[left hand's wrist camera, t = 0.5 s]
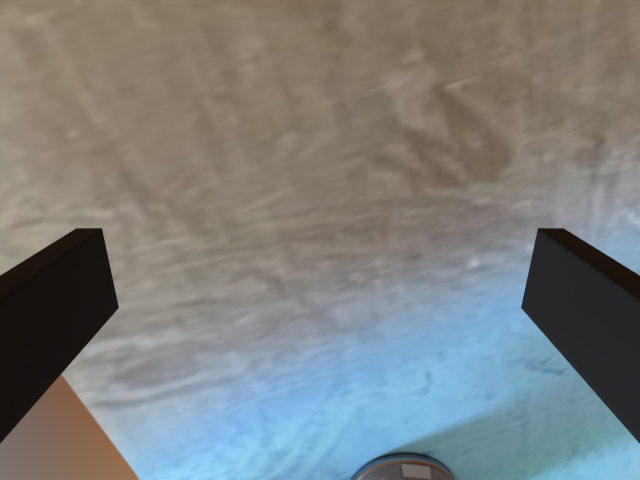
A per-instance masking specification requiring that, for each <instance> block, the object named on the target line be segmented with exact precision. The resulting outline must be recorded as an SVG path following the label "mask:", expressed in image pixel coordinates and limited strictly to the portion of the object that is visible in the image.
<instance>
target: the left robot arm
mask: <svg viewBox="0 0 640 480" xmlns="http://www.w3.org/2000/svg"><path fill="white" fill-rule="evenodd" d="M118 308H119V306H118V302H117V297H116V292H115V288H114V283H113V278H112V274H111V269H110V264H109V259H108V255H107V250H106V245H105V241H104V236H103V231H102V228H76V229H75V230H73V231H72V232H70V233H68V234H67V235H65V236H63V237H62V238H60V239H59V240H57V241H55V242H54V243H52V244H51V245H49V246H47V247H46V248H44V249H42V250H41V251H39V252H38V253H36V254H34V255H33V256H31V257H30V258H28V259H26V260H25V261H23V262H22V263H20V264H18V265H17V266H15V267H13V268H12V269H10V270H9V271H7V272H5V273H4V274H2V275H1V276H0V443H1V442H2V441H3V440H4V439H5V438H6V436H7V435H8V434H9V433H10V432H11V431H12V429H13V428H14V427H15V426H16V425H17V424H18V423H19V421H20V420H21V419H22V418H23V417H24V416H25V415H26V413H27V412H28V411H29V410H30V409H31V408H32V406H33V405H34V404H35V403H36V402H37V401H38V400H39V399H40V397H41V396H42V395H43V394H44V393H45V392H46V391H47V389H48V388H49V387H50V386H51V385H52V384H53V383H54V381H55V380H56V379H57V378H58V377H59V376H60V375H61V373H62V372H63V371H64V370H65V369H66V368H67V367H68V365H69V364H70V363H71V362H72V361H73V360H74V359H75V357H76V356H77V355H78V354H79V353H80V352H81V351H82V349H83V348H84V347H85V346H86V345H87V344H88V342H89V341H90V340H91V339H92V338H93V337H94V336H95V334H96V333H97V332H98V331H99V330H100V329H101V328H102V326H103V325H104V324H105V323H106V322H107V321H108V320H109V318H110V317H111V316H112V315H113V314H114V313H115V312H116V310H117V309H118ZM521 308H522V309H523V310H524V312H525V313H526V314H527V315H528V316H529V317H530V318H531V320H532V321H533V322H534V323H535V324H536V325H537V326H538V328H539V329H540V330H541V331H542V332H543V333H544V334H545V336H546V337H547V338H548V339H549V340H550V341H551V342H552V344H553V345H554V346H555V347H556V348H557V349H558V351H559V352H560V353H561V354H562V355H563V356H564V357H565V359H566V360H567V361H568V362H569V363H570V364H571V365H572V367H573V368H574V369H575V370H576V371H577V372H578V373H579V375H580V376H581V377H582V378H583V379H584V380H585V381H586V383H587V384H588V385H589V386H590V387H591V388H592V389H593V391H594V392H595V393H596V394H597V395H598V396H599V397H600V399H601V400H602V401H603V402H604V403H605V404H606V405H607V407H608V408H609V409H610V410H611V411H612V412H613V413H614V415H615V416H616V417H617V418H618V419H619V420H620V421H621V423H622V424H623V425H624V426H625V427H626V428H627V429H628V431H629V432H630V433H631V434H632V435H633V436H634V438H635V439H636V440H637V441H638V442H639V443H640V276H639V275H638V274H636V273H635V272H633V271H631V270H630V269H628V268H627V267H625V266H623V265H622V264H620V263H618V262H617V261H615V260H614V259H612V258H610V257H609V256H607V255H606V254H604V253H602V252H601V251H599V250H598V249H596V248H594V247H593V246H591V245H589V244H588V243H586V242H585V241H583V240H581V239H580V238H578V237H577V236H575V235H573V234H572V233H570V232H568V231H567V230H565V229H564V228H538V231H537V236H536V241H535V245H534V250H533V255H532V259H531V264H530V269H529V274H528V278H527V283H526V288H525V292H524V297H523V302H522V306H521ZM351 480H455V479H454V476H453V475H452V473H451V472H450V471H449V470H448V469H447V468H446V467H445V466H444V465H443V464H441V463H440V462H438V461H436V460H434V459H431V458H429V457H425V456H421V455H415V454H396V455H390V456H385V457H382V458H379V459H376V460H374V461H372V462H370V463H368V464H366V465H365V466H363V467H362V468H361V469H360V470H358V471H357V472H356V473H355V474H354V476H353V477H352V478H351Z"/></svg>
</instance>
